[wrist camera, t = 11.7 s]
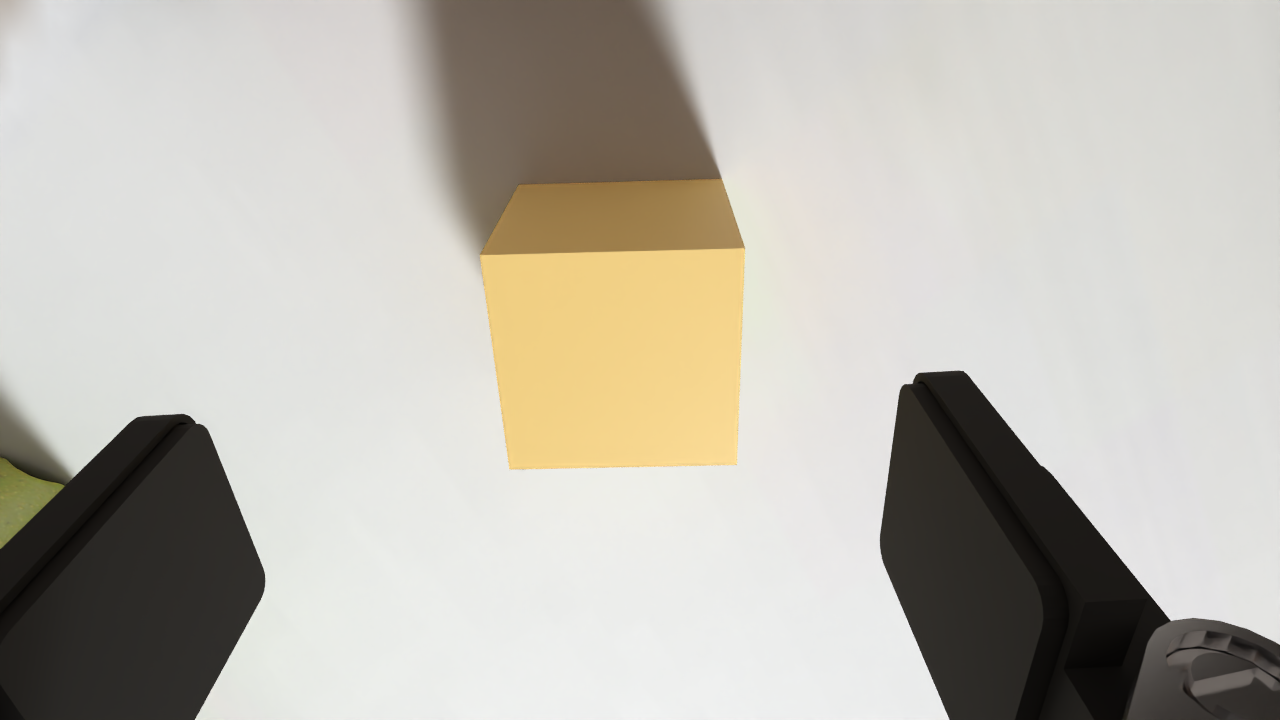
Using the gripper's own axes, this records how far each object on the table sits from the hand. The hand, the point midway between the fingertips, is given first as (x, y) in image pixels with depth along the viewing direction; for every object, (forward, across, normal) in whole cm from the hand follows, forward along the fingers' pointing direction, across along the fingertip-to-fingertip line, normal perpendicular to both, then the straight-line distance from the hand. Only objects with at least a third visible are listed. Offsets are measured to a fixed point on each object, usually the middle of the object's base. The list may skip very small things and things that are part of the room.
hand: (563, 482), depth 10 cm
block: (+8, -1, 0) cm, 8 cm away
